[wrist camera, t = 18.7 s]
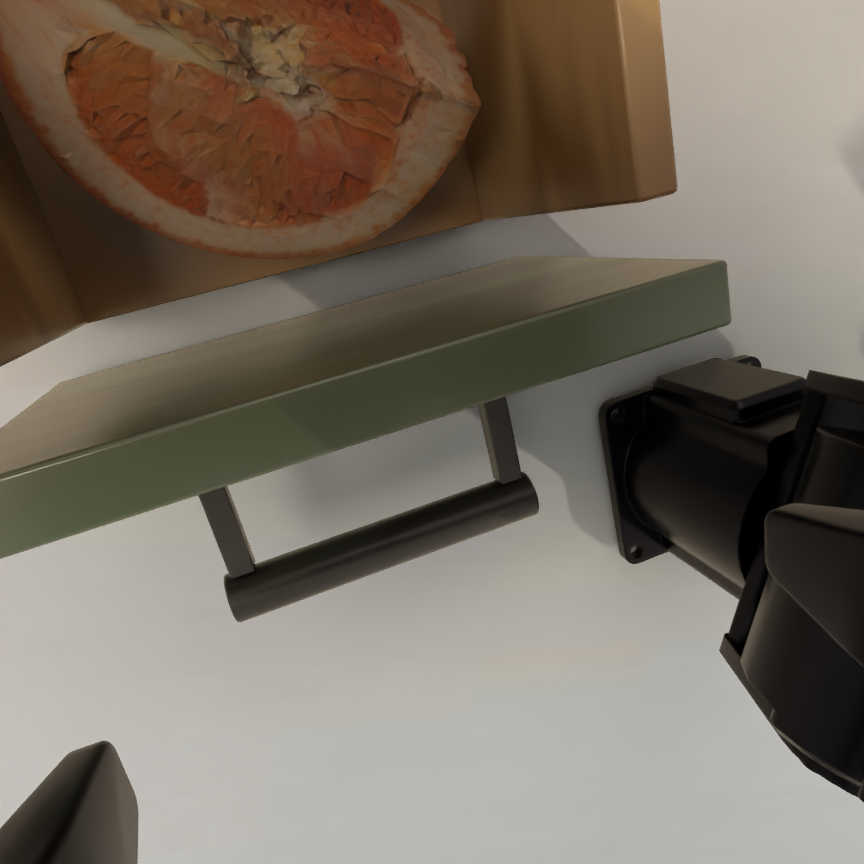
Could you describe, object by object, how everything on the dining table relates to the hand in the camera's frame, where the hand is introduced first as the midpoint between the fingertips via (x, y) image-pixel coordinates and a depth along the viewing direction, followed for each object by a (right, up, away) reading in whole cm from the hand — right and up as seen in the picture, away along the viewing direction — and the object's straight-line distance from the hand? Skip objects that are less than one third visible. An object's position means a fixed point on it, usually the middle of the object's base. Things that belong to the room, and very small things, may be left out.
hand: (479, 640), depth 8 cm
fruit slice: (-5, +10, +7) cm, 14 cm away
